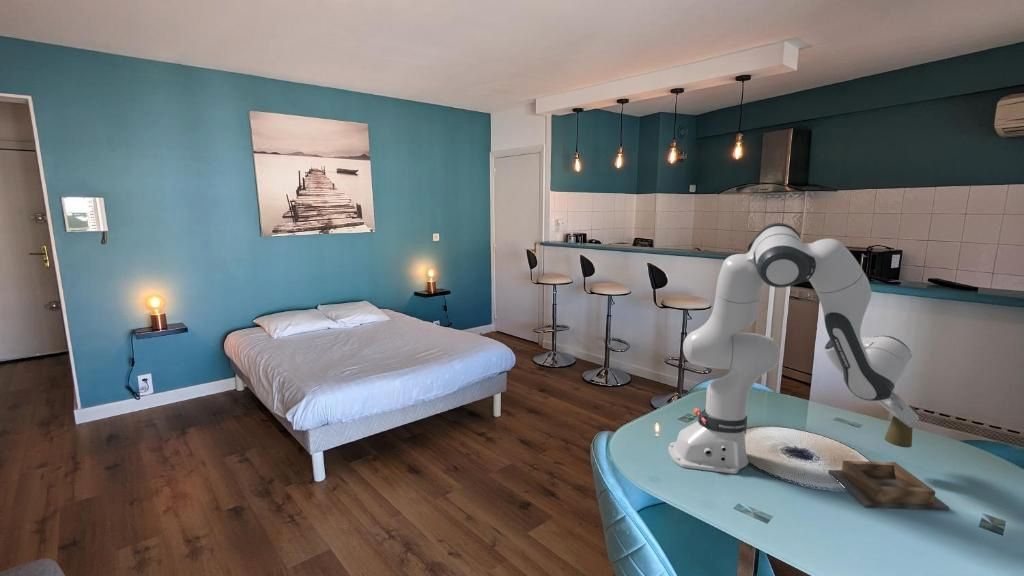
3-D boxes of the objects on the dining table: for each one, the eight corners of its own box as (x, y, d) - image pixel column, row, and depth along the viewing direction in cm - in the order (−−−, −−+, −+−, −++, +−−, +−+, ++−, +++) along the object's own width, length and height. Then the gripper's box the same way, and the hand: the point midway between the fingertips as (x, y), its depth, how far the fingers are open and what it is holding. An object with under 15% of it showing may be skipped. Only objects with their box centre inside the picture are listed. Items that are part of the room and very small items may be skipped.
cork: (916, 449, 131) (924, 411, 129) (889, 445, 133) (897, 408, 130) (905, 438, 137) (913, 402, 134) (880, 434, 138) (888, 399, 136)
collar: (864, 507, 121) (866, 491, 120) (828, 473, 137) (829, 458, 136) (948, 510, 120) (951, 494, 119) (902, 475, 136) (904, 460, 135)
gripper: (904, 390, 122) (940, 431, 122) (864, 363, 142) (895, 398, 142) (881, 404, 124) (916, 444, 124) (845, 375, 144) (875, 410, 144)
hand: (905, 419), depth 133 cm, fingers closed on cork, 5 cm apart
